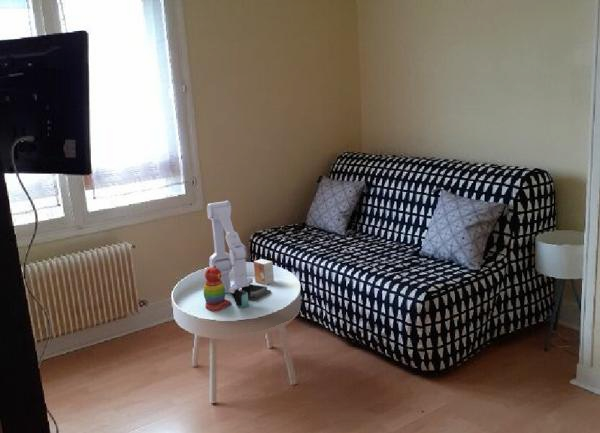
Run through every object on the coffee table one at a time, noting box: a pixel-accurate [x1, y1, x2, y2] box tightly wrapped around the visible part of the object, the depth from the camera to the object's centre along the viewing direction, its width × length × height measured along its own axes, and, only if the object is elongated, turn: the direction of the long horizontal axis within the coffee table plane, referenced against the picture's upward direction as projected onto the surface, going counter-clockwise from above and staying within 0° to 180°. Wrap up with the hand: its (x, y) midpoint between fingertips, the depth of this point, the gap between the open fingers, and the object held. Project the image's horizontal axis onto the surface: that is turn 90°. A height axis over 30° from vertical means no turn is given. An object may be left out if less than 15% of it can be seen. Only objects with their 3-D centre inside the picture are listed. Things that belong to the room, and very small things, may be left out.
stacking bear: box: [203, 266, 232, 312], centre depth 264 cm, size 11×10×18 cm
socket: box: [239, 284, 272, 302], centre depth 276 cm, size 12×12×3 cm
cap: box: [236, 291, 250, 309], centre depth 263 cm, size 5×5×6 cm
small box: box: [253, 258, 275, 286], centre depth 292 cm, size 8×6×10 cm
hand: (242, 303), depth 263 cm, fingers open, 5 cm apart
